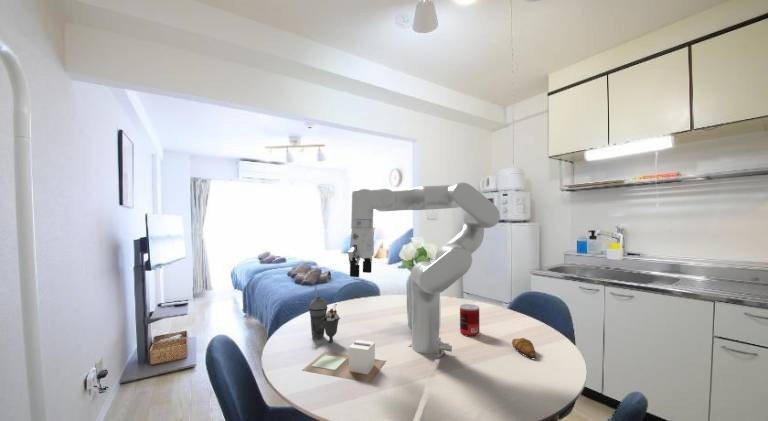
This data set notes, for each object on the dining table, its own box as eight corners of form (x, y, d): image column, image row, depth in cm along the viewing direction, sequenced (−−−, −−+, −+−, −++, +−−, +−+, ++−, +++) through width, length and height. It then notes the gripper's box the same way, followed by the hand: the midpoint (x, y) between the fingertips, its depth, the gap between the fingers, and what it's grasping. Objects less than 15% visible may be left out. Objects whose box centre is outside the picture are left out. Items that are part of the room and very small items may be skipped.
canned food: (481, 332, 127) (481, 305, 127) (476, 338, 120) (476, 310, 120) (463, 328, 131) (463, 302, 131) (457, 334, 124) (457, 307, 124)
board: (386, 365, 97) (386, 360, 97) (370, 388, 83) (370, 381, 84) (325, 355, 104) (325, 350, 104) (301, 375, 90) (301, 369, 90)
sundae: (343, 343, 114) (343, 303, 115) (334, 351, 108) (335, 308, 108) (327, 341, 116) (328, 302, 117) (318, 348, 110) (318, 306, 110)
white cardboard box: (374, 365, 94) (374, 341, 94) (367, 374, 88) (367, 349, 88) (356, 362, 96) (357, 339, 96) (348, 371, 90) (348, 346, 90)
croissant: (543, 360, 101) (543, 345, 102) (524, 361, 101) (524, 345, 101) (522, 344, 115) (522, 331, 115) (505, 344, 114) (505, 331, 115)
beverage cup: (325, 341, 117) (325, 288, 117) (306, 340, 117) (306, 288, 118) (328, 334, 124) (329, 284, 125) (311, 333, 124) (311, 284, 125)
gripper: (360, 225, 96) (359, 279, 95) (381, 225, 112) (380, 271, 111) (340, 224, 99) (338, 277, 98) (363, 224, 115) (362, 270, 114)
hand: (361, 274), depth 104 cm, fingers open, 9 cm apart
